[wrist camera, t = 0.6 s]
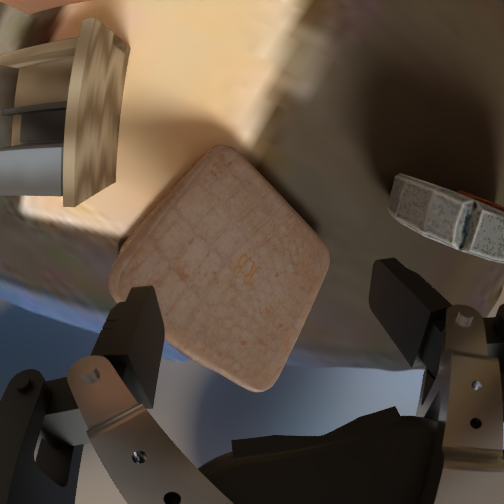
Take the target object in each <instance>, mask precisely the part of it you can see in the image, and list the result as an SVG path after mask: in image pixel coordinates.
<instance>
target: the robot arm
mask: <svg viewBox="0 0 504 504" xmlns="http://www.w3.org/2000/svg"><path fill="white" fill-rule="evenodd" d="M369 304H370V308H371V310H372V312H373V314H374V315H375V316H376V318H377V319H378V320H379V322H380V323H381V325H382V326H383V327H384V329H385V330H386V332H387V333H388V334H389V336H390V337H391V339H392V340H393V341H394V343H395V344H396V346H397V347H398V348H399V350H400V351H401V353H402V354H403V356H404V357H405V359H406V360H407V362H408V363H409V364H410V366H411V367H412V368H414V367H417V366H420V365H423V364H425V365H426V369H425V371H424V375H423V381H422V387H421V392H420V397H419V403H418V407H417V412H416V416H400V414H399V413H398V411H397V409H396V407H395V406H394V407H391V408H388V409H385V410H382V411H378V412H376V413H372V414H369V415H365V416H362V417H359V418H357V419H355V420H353V421H351V422H349V423H348V424H346V425H344V426H342V427H340V428H338V429H336V430H334V431H332V432H329V433H327V434H325V435H322V436H283V435H272V436H265V437H257V438H249V439H239V440H232V450H233V451H232V452H229V453H226V454H223V455H221V456H218V457H216V458H214V459H212V460H210V461H208V462H207V463H205V464H204V465H202V466H201V467H199V468H198V469H197V468H196V467H195V466H194V465H193V464H192V463H191V462H190V460H189V459H188V458H187V457H186V456H185V455H184V454H183V453H182V452H181V451H180V449H179V448H178V447H177V446H176V445H175V444H174V443H173V441H172V440H171V439H170V438H169V437H168V436H167V434H166V433H165V432H164V431H163V430H162V428H161V427H160V426H159V425H158V424H157V422H156V421H155V420H154V419H153V417H152V416H151V415H150V413H149V412H148V411H147V410H146V409H152V408H153V405H154V398H155V391H156V384H157V379H158V372H159V367H160V361H161V355H162V350H163V344H164V339H165V328H164V322H163V318H162V315H161V311H160V307H159V303H158V300H157V296H156V292H155V289H154V287H153V286H152V285H150V286H139V287H132V288H131V290H130V292H129V294H128V296H127V299H126V301H125V302H119V303H118V304H117V305H116V306H115V307H114V308H113V309H112V310H111V311H110V313H109V315H108V317H107V319H106V322H105V324H104V326H103V330H101V332H100V335H99V337H98V339H97V341H96V344H95V346H94V348H93V351H92V353H91V356H88V357H85V358H82V359H80V360H78V361H77V362H76V363H75V364H73V365H72V367H71V368H70V370H69V371H68V374H67V377H64V378H60V379H56V380H51V381H45V379H44V377H43V376H42V374H41V373H40V372H39V371H37V370H34V369H28V370H24V371H22V372H20V373H18V374H17V375H15V376H14V377H13V378H12V379H11V381H10V382H9V384H8V386H7V388H6V390H5V392H4V394H3V397H2V399H1V401H0V504H75V496H76V488H77V481H78V475H79V468H80V462H81V456H82V451H83V445H84V444H86V443H91V444H92V445H93V447H94V449H95V451H96V453H97V455H98V457H99V458H100V460H101V462H102V464H103V465H104V467H105V469H106V470H107V472H108V474H109V475H110V477H111V479H112V481H113V482H114V484H115V485H116V487H117V488H118V490H119V492H120V493H121V494H122V496H123V498H124V499H125V501H126V502H127V503H128V504H504V450H503V449H502V448H503V422H504V304H502V305H501V306H500V307H499V309H498V311H497V314H496V317H493V318H492V317H491V318H483V317H482V315H481V314H480V313H479V312H478V311H477V310H475V309H474V308H472V307H469V306H466V305H459V304H458V305H451V304H450V303H449V302H448V301H447V300H446V299H445V298H444V297H443V296H442V295H441V294H440V293H439V292H437V291H436V290H435V289H434V288H432V286H431V285H430V284H429V283H428V282H426V281H425V280H424V279H423V278H422V277H421V276H420V275H419V274H417V273H415V272H413V271H411V270H409V269H407V268H406V267H405V266H404V265H402V264H401V263H400V262H399V261H398V260H397V259H395V258H387V259H380V260H376V261H375V262H374V264H373V270H372V278H371V285H370V292H369ZM39 435H40V436H41V437H42V439H41V443H40V446H39V450H38V454H37V457H36V462H35V460H34V450H35V447H36V443H37V440H38V436H39Z"/></svg>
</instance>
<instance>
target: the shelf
mask: <svg viewBox="0 0 504 504" xmlns="http://www.w3.org/2000/svg"><path fill="white" fill-rule="evenodd" d="M129 53H130V47H129V46H128V45H127V44H126V43H125V42H123V41H122V40H121V39H120V38H119V37H118V36H117V35H115V34H114V33H113V32H112V31H111V30H110V29H108V28H107V27H106V26H105V25H104V24H103V23H101V22H100V21H99V20H98V19H97V18H95V17H93V18H86V19H83V21H82V25H81V28H80V33H79V37H78V38H72V39H66V40H60V41H55V42H50V43H45V44H41V45H36V46H32V47H28V48H24V49H20V50H17V51H13V52H10V53H6V54H3V55H0V65H4V66H9V67H15V68H19V74H18V80H17V87H16V94H15V102H14V108H9V109H4V110H2V116H5V115H13V124H12V143H11V146H9V147H4V148H0V195H27V196H63V207H76V206H77V205H79V204H80V203H82V202H83V201H85V200H87V199H88V198H90V197H91V196H93V195H95V194H96V193H98V192H100V191H101V190H103V189H105V188H106V187H108V186H110V185H111V184H113V183H115V182H116V160H117V145H118V132H119V122H120V113H121V104H122V96H123V89H124V82H125V76H126V70H127V64H128V58H129Z"/></svg>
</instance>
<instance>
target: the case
mask: <svg viewBox="0 0 504 504" xmlns="http://www.w3.org/2000/svg"><path fill="white" fill-rule="evenodd" d="M329 263H330V255H329V251H328V248H327V246H326V244H325V243H324V241H323V240H322V239H321V238H320V237H319V236H318V234H317V233H316V232H315V231H314V230H313V229H312V228H311V227H310V226H309V225H308V224H307V223H306V222H305V220H304V219H303V218H302V217H301V216H300V215H299V214H298V213H297V212H296V211H295V210H294V209H293V208H292V207H291V206H290V204H289V203H288V202H287V201H286V200H285V199H284V198H283V197H282V196H281V195H280V194H279V193H278V192H277V191H276V190H275V188H274V187H273V186H272V185H271V184H270V183H269V182H268V181H267V180H266V179H265V178H264V177H263V176H262V175H261V174H260V173H259V172H258V171H257V170H256V169H255V168H254V167H253V165H252V164H251V163H250V162H249V161H248V160H247V159H246V158H245V157H244V156H243V155H242V154H240V153H239V152H238V151H237V150H235V149H234V148H232V147H229V146H225V145H219V146H216V147H213V148H212V149H211V150H210V151H209V152H207V153H206V154H204V155H203V156H202V157H201V158H200V159H199V160H198V161H197V162H196V163H195V164H194V165H193V166H192V167H191V168H190V169H189V170H188V171H187V172H186V173H185V174H184V175H183V176H182V178H181V179H180V180H179V181H178V182H177V183H176V184H175V185H174V186H173V187H172V188H171V189H170V190H169V192H168V193H167V194H166V195H165V196H164V197H163V199H162V200H161V201H160V202H159V203H158V204H157V205H156V206H155V208H154V209H153V210H152V211H151V212H150V213H149V214H148V216H147V217H146V218H145V219H144V220H143V221H142V222H141V224H140V225H139V226H138V227H137V228H136V229H135V230H134V232H133V233H132V234H131V235H130V236H129V237H128V239H127V240H126V241H125V242H124V243H123V245H122V246H121V248H120V252H119V256H118V257H117V259H116V260H115V261H114V263H113V265H112V267H111V269H110V272H109V276H108V286H109V290H110V293H111V295H112V297H113V298H114V300H115V301H116V302H117V303H119V302H125V301H126V299H127V296H128V294H129V292H130V290H131V288H132V287H139V286H150V285H152V286H153V287H154V289H155V292H156V296H157V300H158V303H159V307H160V311H161V315H162V318H163V322H164V328H165V340H166V341H167V342H168V343H169V344H170V345H172V346H173V347H175V348H176V349H177V350H179V351H180V352H181V353H183V354H184V355H186V356H187V357H189V358H190V359H192V360H194V361H196V362H197V363H199V364H201V365H203V366H205V367H207V368H209V369H212V370H214V371H216V372H217V373H219V374H221V375H223V376H225V377H226V378H228V379H229V380H231V381H233V382H235V383H236V384H238V385H240V386H242V387H244V388H245V389H247V390H250V391H254V392H263V391H265V390H267V389H269V388H270V387H272V386H273V385H274V383H275V382H276V380H277V379H278V377H279V375H280V373H281V371H282V369H283V367H284V365H285V363H286V361H287V359H288V357H289V355H290V352H291V350H292V348H293V346H294V344H295V342H296V340H297V338H298V336H299V334H300V332H301V329H302V327H303V325H304V323H305V321H306V318H307V316H308V314H309V312H310V310H311V307H312V305H313V303H314V301H315V298H316V296H317V294H318V291H319V289H320V287H321V285H322V282H323V280H324V278H325V275H326V273H327V270H328V268H329Z"/></svg>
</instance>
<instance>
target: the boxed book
mask: <svg viewBox="0 0 504 504" xmlns="http://www.w3.org/2000/svg"><path fill="white" fill-rule="evenodd" d="M83 1H89V0H0V2H2V3H5V4H7V5H9V6H11V7H14V8H16V9H18V10H20V11H22V12H24V13H26V14H33V13H36V12H40V11H43V10H47V9H51V8H55V7H59V6H63V5H68V4H73V3H78V2H83Z"/></svg>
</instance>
